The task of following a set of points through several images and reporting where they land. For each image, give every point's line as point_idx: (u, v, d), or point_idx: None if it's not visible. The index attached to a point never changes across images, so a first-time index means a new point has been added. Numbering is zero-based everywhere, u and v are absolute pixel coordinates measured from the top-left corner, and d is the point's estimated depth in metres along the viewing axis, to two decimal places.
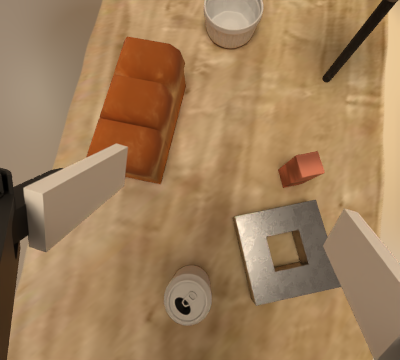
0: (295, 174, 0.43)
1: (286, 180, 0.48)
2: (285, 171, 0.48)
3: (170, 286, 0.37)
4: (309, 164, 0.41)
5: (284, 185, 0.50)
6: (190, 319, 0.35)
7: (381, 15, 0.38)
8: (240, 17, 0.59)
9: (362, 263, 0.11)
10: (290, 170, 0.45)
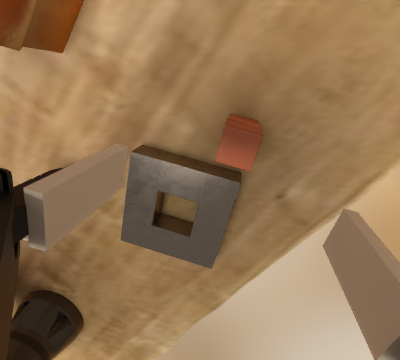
0: None
1: None
2: None
3: None
4: (237, 149, 0.25)
5: None
6: None
7: None
8: None
9: (361, 263, 0.11)
10: None
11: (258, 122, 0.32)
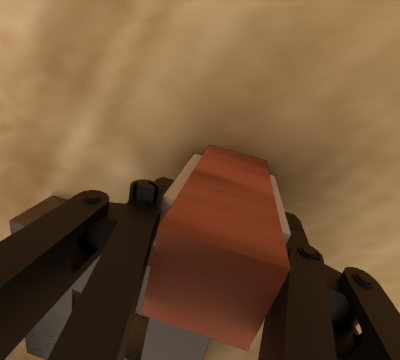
0: None
1: None
2: None
3: None
4: (203, 294, 0.08)
5: None
6: None
7: None
8: None
9: None
10: None
11: (267, 166, 0.15)
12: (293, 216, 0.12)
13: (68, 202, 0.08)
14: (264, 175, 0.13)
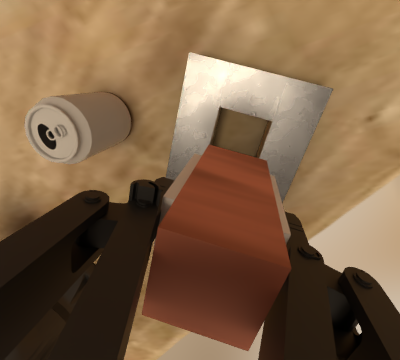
0: None
1: None
2: None
3: (37, 105, 0.25)
4: (203, 294, 0.08)
5: None
6: (54, 156, 0.26)
7: None
8: None
9: None
10: None
11: (267, 166, 0.15)
12: (293, 216, 0.12)
13: (68, 202, 0.08)
14: (264, 175, 0.13)
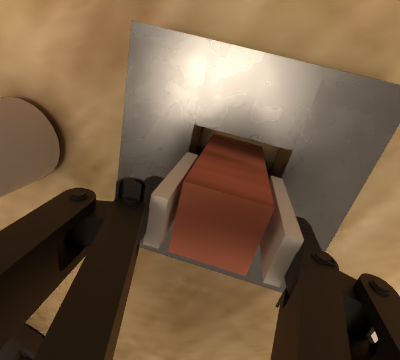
0: None
1: None
2: None
3: None
4: (213, 231, 0.11)
5: None
6: None
7: None
8: None
9: None
10: None
11: (262, 150, 0.18)
12: (303, 220, 0.12)
13: (53, 200, 0.08)
14: (259, 156, 0.16)
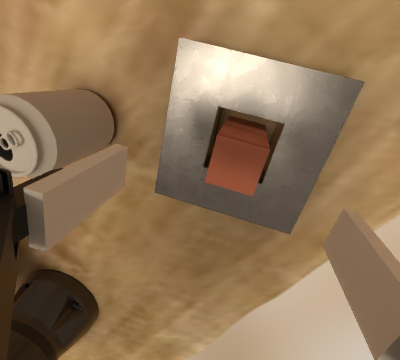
0: None
1: None
2: None
3: None
4: (234, 166, 0.18)
5: None
6: (11, 169, 0.21)
7: None
8: None
9: (361, 263, 0.11)
10: None
11: (264, 126, 0.25)
12: None
13: None
14: (262, 129, 0.24)
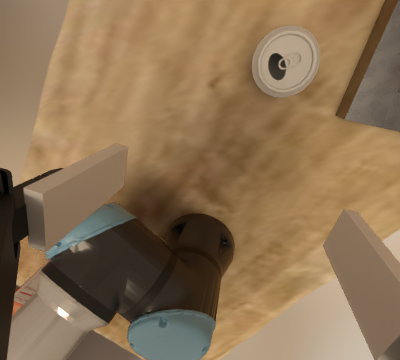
0: None
1: None
2: None
3: (272, 35, 0.26)
4: None
5: None
6: (278, 87, 0.27)
7: None
8: None
9: (362, 263, 0.11)
10: None
11: None
12: None
13: None
14: None
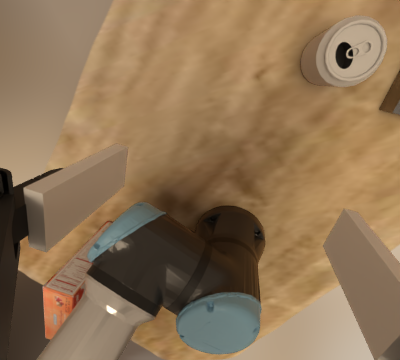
0: None
1: None
2: None
3: (342, 24, 0.27)
4: None
5: None
6: (343, 76, 0.28)
7: None
8: None
9: (362, 263, 0.11)
10: None
11: None
12: None
13: None
14: None
